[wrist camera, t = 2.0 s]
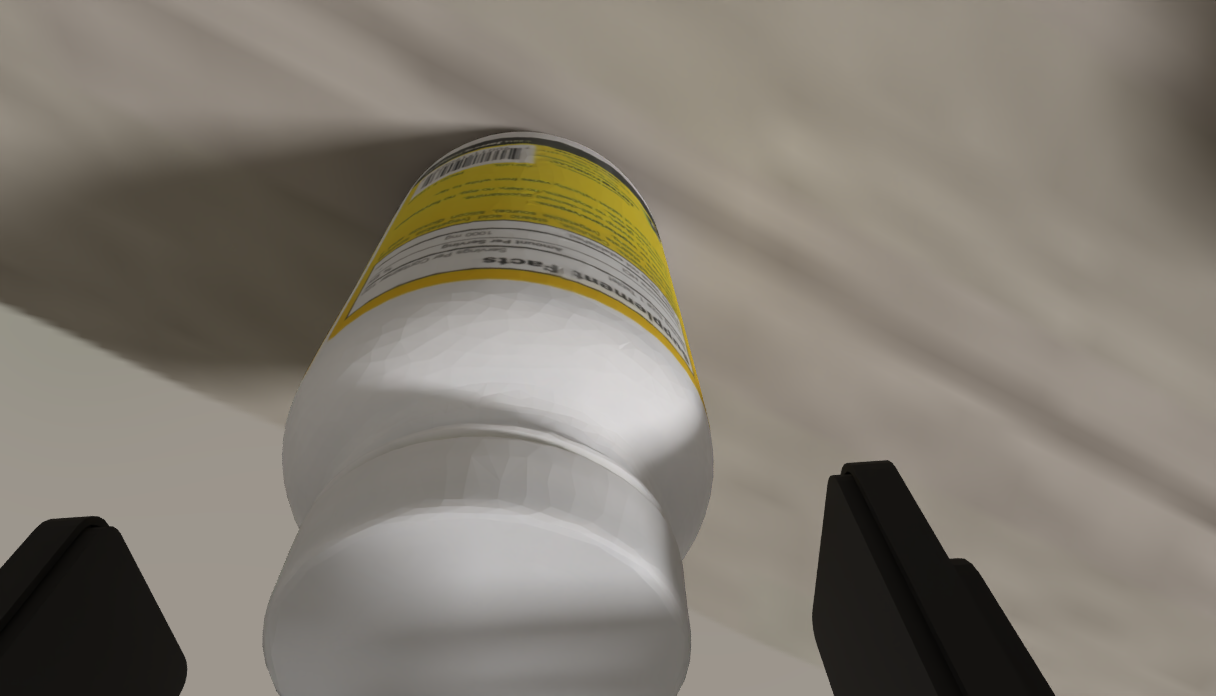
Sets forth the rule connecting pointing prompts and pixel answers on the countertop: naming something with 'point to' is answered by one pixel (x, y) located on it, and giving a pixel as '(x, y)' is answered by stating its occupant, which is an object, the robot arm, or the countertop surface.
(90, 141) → the countertop surface
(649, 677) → the pill bottle
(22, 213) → the countertop surface
